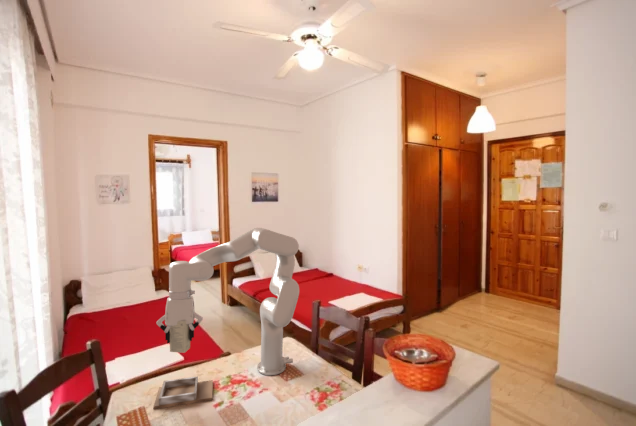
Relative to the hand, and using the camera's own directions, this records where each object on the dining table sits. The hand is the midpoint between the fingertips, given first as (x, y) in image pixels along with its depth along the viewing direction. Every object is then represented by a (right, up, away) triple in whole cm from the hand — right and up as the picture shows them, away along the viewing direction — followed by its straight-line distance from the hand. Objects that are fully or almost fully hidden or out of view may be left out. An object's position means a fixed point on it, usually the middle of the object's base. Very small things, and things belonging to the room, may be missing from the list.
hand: (179, 340), depth 124 cm
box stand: (+1, -22, +2) cm, 22 cm away
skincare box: (0, -4, 0) cm, 4 cm away
